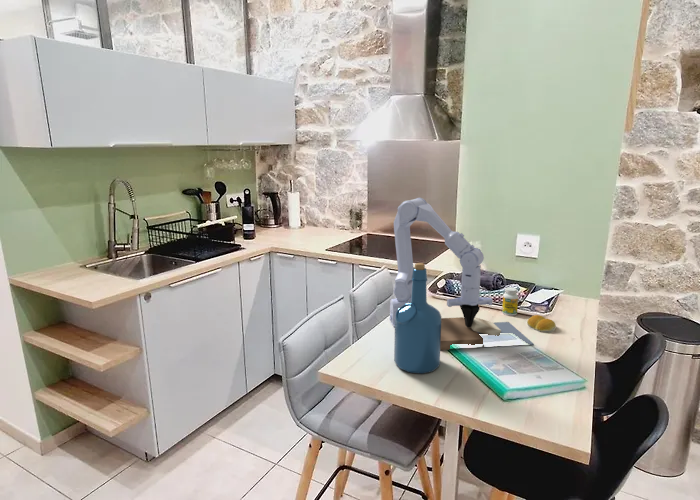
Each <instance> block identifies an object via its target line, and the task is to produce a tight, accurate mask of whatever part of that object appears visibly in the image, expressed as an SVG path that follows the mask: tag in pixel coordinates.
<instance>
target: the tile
mask: <svg viewBox="0 0 700 500" xmlns="http://www.w3.org/2000/svg"><path fill="white" fill-rule="evenodd" d="M471 328H472V329H473V331H477V332H480V333H484V334H488V335H495V336H496V335H497V336H499V335H500V333H501V330H500V329H499V328H498V327H497V326H496V325H495V324H494V321H493V322H492V321H490V320H487V319H486V320H485V319H482V318H480V317H479V318H478V317H476V316H475V318H474V320H473V323H472V326H471Z"/></svg>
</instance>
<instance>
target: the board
mask: <svg viewBox="0 0 700 500" xmlns="http://www.w3.org/2000/svg"><path fill="white" fill-rule="evenodd" d="M452 344H468V345H469V344H471V345H475V344H483V338H482V337H481V336H480V335H479V334H478V333H477V331H473V329H472V328H471V327H467V326H466V325H465V319H464V316H461V317H444V318H443V317H442V320H441V344H440V351H447V350H449V349H450V345H452ZM449 351H450V350H449Z"/></svg>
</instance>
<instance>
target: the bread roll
mask: <svg viewBox="0 0 700 500" xmlns="http://www.w3.org/2000/svg"><path fill="white" fill-rule="evenodd" d="M526 320H527V321H526V324H527V325H528V327H529V328H531V329H532V330H536V331H537V332H540V333H551V332H554V331H555V330H556V325H557V324H556V322H555V321H554V320H553V319H550V318H546V317H544V316H542V315H540V314H535V315H532V316H531V317H529V318H528V319H526Z"/></svg>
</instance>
